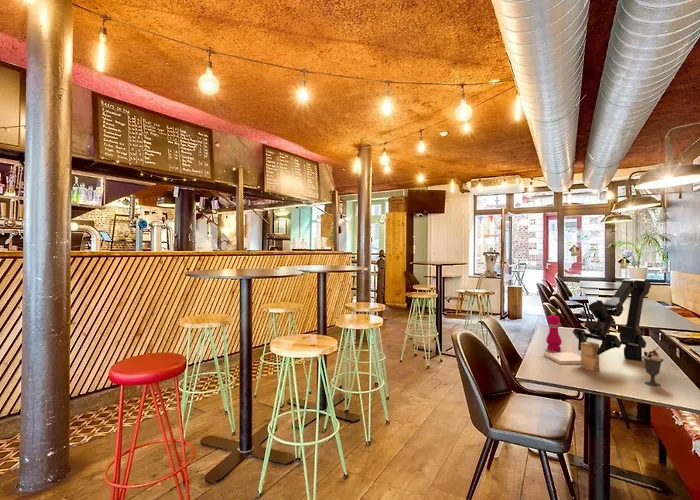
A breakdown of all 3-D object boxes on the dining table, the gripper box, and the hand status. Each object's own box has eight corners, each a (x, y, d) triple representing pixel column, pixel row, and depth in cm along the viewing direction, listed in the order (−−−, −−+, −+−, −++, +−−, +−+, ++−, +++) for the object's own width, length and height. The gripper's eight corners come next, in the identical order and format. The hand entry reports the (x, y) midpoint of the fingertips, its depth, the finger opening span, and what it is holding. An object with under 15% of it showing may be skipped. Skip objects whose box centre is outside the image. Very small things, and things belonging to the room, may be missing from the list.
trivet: (571, 355, 186) (571, 352, 186) (590, 363, 172) (589, 360, 172) (544, 355, 186) (544, 352, 186) (560, 364, 172) (560, 360, 172)
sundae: (665, 388, 140) (665, 349, 140) (643, 385, 144) (642, 346, 144) (662, 383, 146) (661, 345, 146) (640, 380, 149) (640, 343, 150)
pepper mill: (563, 351, 193) (563, 313, 194) (548, 350, 195) (548, 313, 195) (558, 348, 201) (558, 311, 201) (544, 347, 202) (544, 310, 202)
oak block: (588, 365, 169) (587, 341, 169) (599, 368, 165) (598, 344, 165) (581, 367, 167) (580, 342, 167) (592, 370, 163) (592, 345, 163)
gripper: (574, 311, 176) (559, 336, 171) (617, 317, 159) (601, 345, 155) (585, 326, 180) (571, 351, 175) (627, 333, 163) (613, 361, 158)
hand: (588, 352), depth 165 cm, fingers open, 8 cm apart
